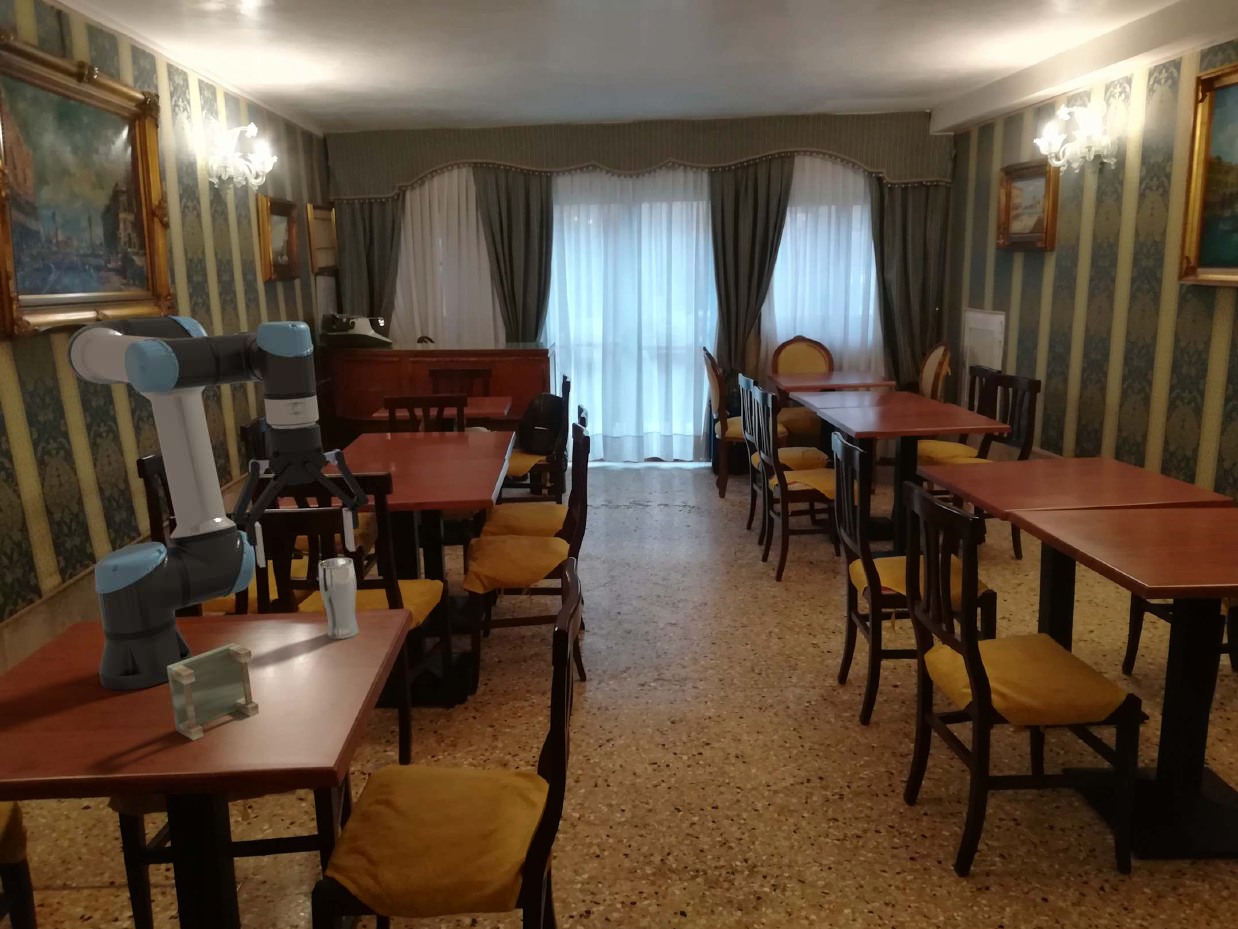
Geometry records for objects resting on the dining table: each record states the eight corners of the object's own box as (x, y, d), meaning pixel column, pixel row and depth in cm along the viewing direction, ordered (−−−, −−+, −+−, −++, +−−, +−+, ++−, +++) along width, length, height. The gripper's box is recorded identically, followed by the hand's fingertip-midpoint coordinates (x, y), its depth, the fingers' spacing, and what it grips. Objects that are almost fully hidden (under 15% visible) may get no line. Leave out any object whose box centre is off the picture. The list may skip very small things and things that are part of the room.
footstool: (176, 730, 142) (166, 666, 139) (241, 703, 150) (233, 642, 148) (193, 740, 138) (183, 675, 136) (259, 712, 147) (250, 650, 144)
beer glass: (341, 643, 174) (333, 570, 171) (317, 636, 178) (309, 564, 175) (368, 630, 180) (361, 560, 177) (345, 624, 184) (338, 555, 180)
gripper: (207, 437, 126) (225, 578, 131) (381, 418, 138) (391, 548, 143) (201, 429, 132) (218, 564, 137) (368, 412, 145) (378, 537, 149)
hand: (307, 556), depth 140 cm, fingers open, 13 cm apart
